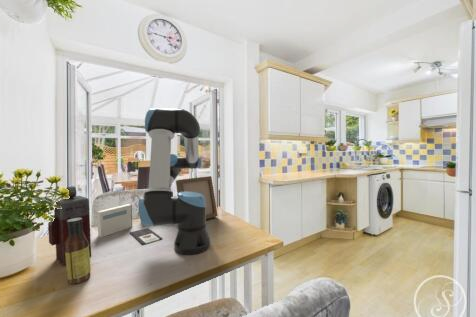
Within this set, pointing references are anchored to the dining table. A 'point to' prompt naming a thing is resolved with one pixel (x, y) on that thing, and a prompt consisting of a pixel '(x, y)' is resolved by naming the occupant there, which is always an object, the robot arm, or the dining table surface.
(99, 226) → the white slotted box
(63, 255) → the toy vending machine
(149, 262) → the dining table surface
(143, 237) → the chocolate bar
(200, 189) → the photo frame
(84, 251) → the sauce bottle
